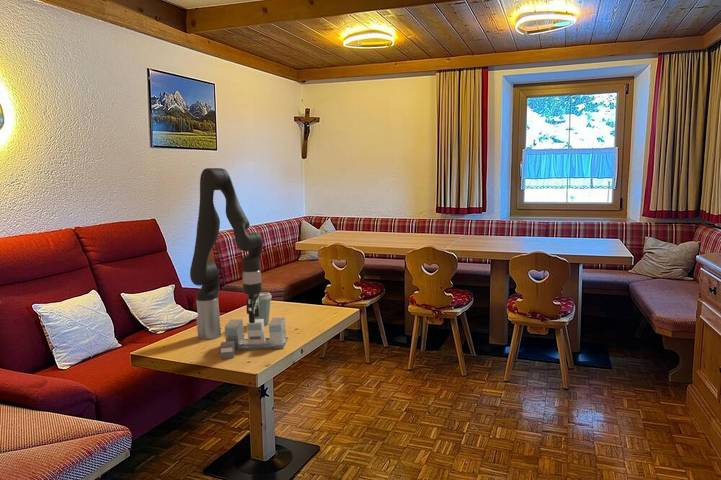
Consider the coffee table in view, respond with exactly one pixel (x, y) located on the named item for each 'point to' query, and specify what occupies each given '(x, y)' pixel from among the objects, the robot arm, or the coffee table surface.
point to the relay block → (227, 350)
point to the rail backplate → (274, 342)
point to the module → (256, 332)
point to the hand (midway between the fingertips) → (254, 319)
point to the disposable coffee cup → (264, 307)
